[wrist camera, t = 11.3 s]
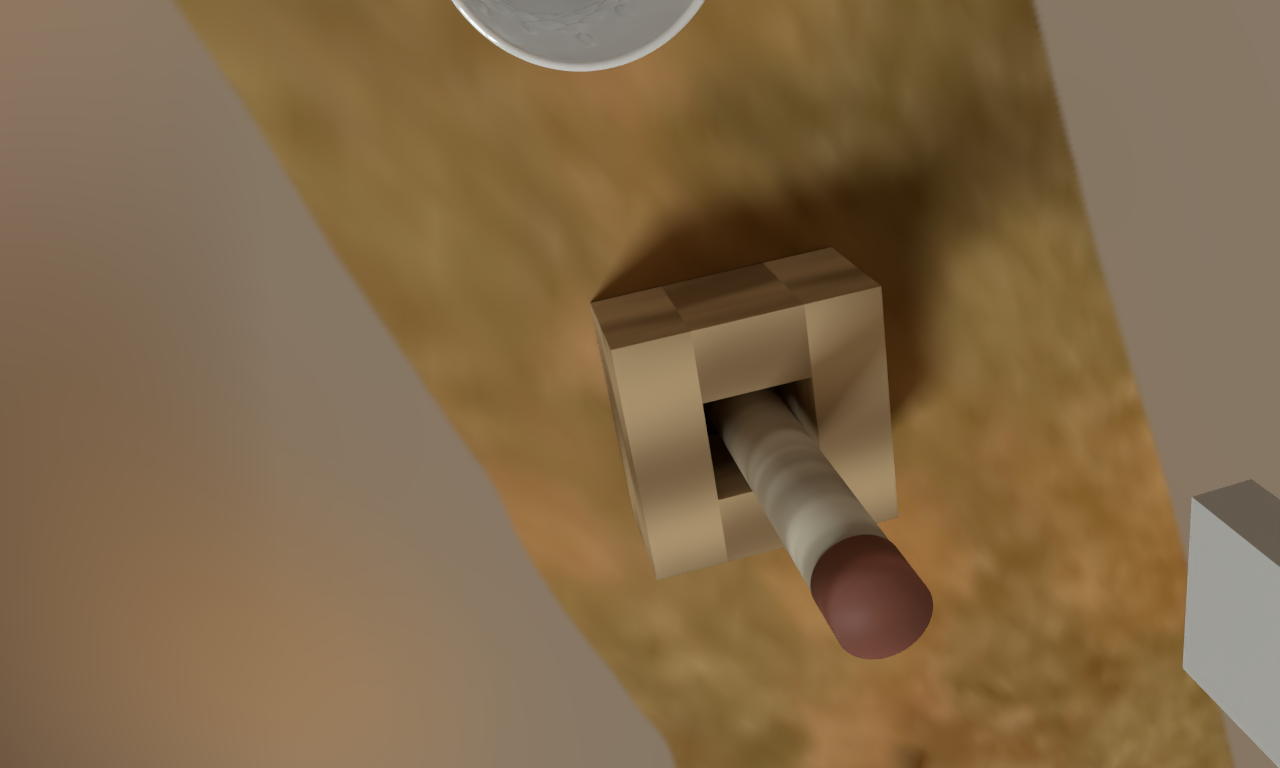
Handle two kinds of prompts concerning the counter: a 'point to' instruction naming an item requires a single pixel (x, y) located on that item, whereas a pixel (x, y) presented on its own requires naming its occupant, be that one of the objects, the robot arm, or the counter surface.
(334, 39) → the counter surface
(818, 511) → the brown-tipped rod
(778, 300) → the bead block
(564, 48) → the white cup
